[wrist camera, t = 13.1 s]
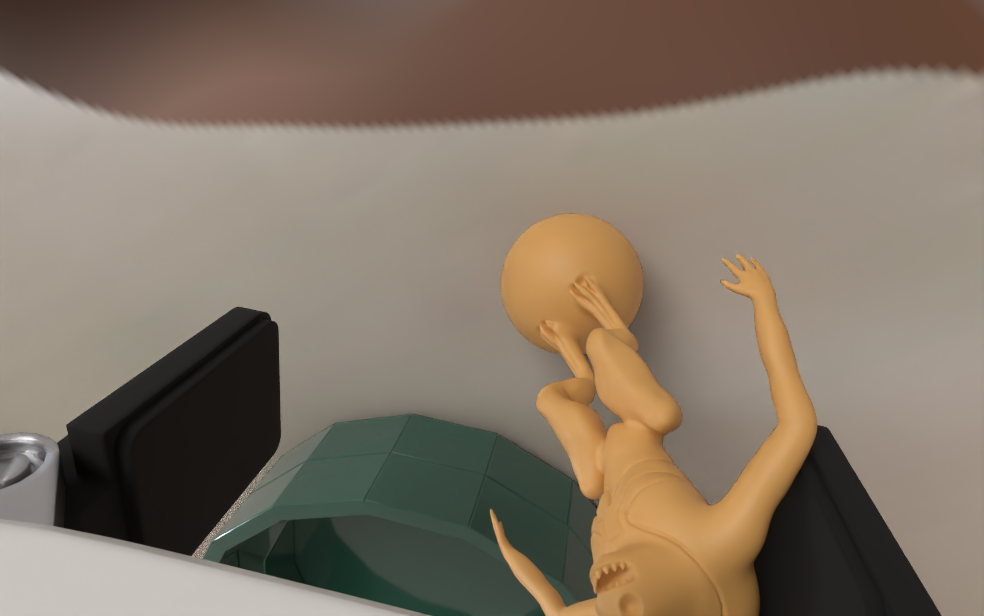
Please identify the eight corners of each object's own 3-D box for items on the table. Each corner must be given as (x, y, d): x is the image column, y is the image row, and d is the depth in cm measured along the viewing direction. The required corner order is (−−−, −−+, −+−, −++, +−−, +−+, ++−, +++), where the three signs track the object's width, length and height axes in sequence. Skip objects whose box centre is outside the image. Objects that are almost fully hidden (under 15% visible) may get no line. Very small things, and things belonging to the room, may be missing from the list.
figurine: (606, 109, 16) (583, 222, 6) (775, 231, 17) (1057, 557, 6) (456, 320, 20) (266, 637, 9) (598, 417, 20) (576, 826, 10)
